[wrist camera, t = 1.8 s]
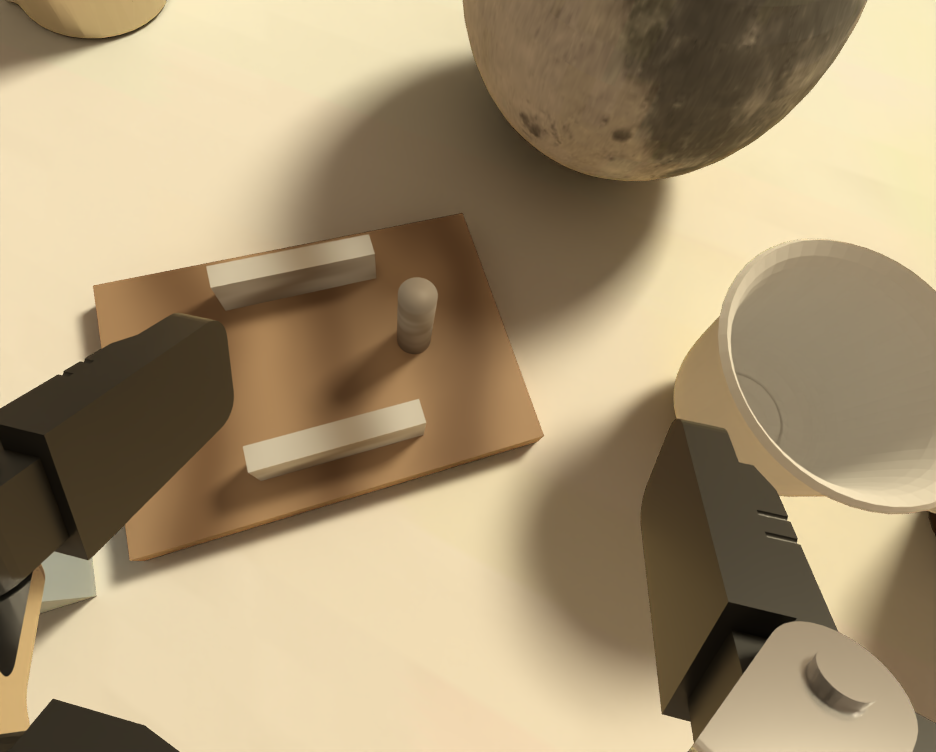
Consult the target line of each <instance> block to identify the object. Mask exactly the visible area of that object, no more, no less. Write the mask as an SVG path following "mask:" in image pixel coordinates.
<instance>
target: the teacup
mask: <svg viewBox="0 0 936 752" xmlns="http://www.w3.org/2000/svg"><path fill="white" fill-rule="evenodd" d="M674 409H675V415H676V419H684V420H688V421H693V422H698V423H703V424H708V425H712V426H717V427H722V428H725V429H726V430H727V432H728V434H729V437H730V440H731V442H732V445H733V448H734V450H735V453H736V456H737V458H738V461H739V462H740V463H745V464H750V465H754V466H755V468H756V469H757V470H758V471H759V472H760V473H761V474H762V475H763V476H764V477H765V478H766V479H767V481H768V482H769V483H770V484H771V485H772V486H773V487H774V488H775V489H776V490H777V492H778V495H779V496H787V497H797V496H826V497H828V498H830V499H833V500H835V501H838V502H840V503H843V504H845V505H848V506H851V507H854V508H858V509H862V510H866V511H870V512H877V513H885V514H909V513H915V512H921V511H926V510H927V511H930V512H932V513H936V291H935V290H934V289H933V288H932V287H931V286H929V285H928V284H927V283H926V282H925V281H924V280H922V279H921V278H920V277H919V276H917V275H916V274H915V273H914V272H912V271H911V270H909V269H907V268H906V267H904V266H903V265H901V264H900V263H898V262H896V261H894V260H892V259H890V258H888V257H886V256H884V255H882V254H880V253H877V252H875V251H872V250H870V249H867V248H864V247H861V246H857V245H854V244H850V243H846V242H840V241H834V240H828V239H800V240H794V241H789V242H784V243H781V244H779V245H776V246H773V247H771V248H769V249H767V250H765V251H764V252H762V253H760V254H759V255H757V256H756V257H755V258H753V259H752V260H751V261H750V262H749V263H747V264H746V265H745V267H744V268H743V269H742V270H741V271H740V272H739V274H738V275H737V276H736V278H735V279H734V281H733V283H732V284H731V286H730V287H729V289H728V292H727V294H726V297H725V299H724V302H723V305H722V309H721V313H720V316H719V317H718V318H717V319H716V320H715V322H714V323H713V324H712V325H711V326H710V327H709V328H708V329H707V330H706V331H705V332H704V333H703V334H702V336H701V337H700V338H699V339H698V340H697V341H696V343H695V344H694V345H693V347H692V348H691V349H690V351H689V352H688V354H687V355H686V357H685V358H684V360H683V362H682V364H681V367H680V369H679V371H678V374H677V377H676V381H675V386H674Z"/></svg>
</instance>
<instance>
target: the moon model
mask: <svg viewBox="0 0 936 752" xmlns="http://www.w3.org/2000/svg"><path fill="white" fill-rule="evenodd" d="M866 2H867V0H463V8H464V18H465V23H466V28H467V32H468V37H469V41H470V46H471V50H472V53H473V56H474V59H475V62H476V64H477V67H478V69H479V72H480V74H481V77H482V79H483V82H484V84H485V86H486V88H487V90H488V92H489V94H490V95H491V97H492V99H493V100H494V102H495V103H496V105H497V106H498V108H499V109H500V111H501V112H502V114H503V115H504V117H505V118H506V119H507V121H508V122H509V123H510V124H511V126H512V127H513V128H514V129H515V130H516V131H517V132H518V133H519V134H520V135H521V136H522V137H523V138H524V139H525V140H527V141H528V142H529V143H530V144H531V145H532V146H534V147H535V148H536V149H537V150H539V151H540V152H541V153H543V154H544V155H546V156H547V157H549V158H550V159H552V160H554V161H556V162H557V163H559V164H561V165H563V166H565V167H568V168H570V169H572V170H575V171H577V172H580V173H583V174H587V175H590V176H594V177H599V178H605V179H612V180H620V181H649V180H656V179H662V178H668V177H674V176H678V175H683V174H686V173H689V172H692V171H695V170H698V169H700V168H703V167H706V166H708V165H711V164H713V163H716V162H718V161H720V160H722V159H724V158H726V157H728V156H730V155H731V154H733V153H735V152H737V151H738V150H740V149H742V148H744V147H745V146H747V145H749V144H750V143H752V142H753V141H755V140H756V139H758V138H759V137H760V136H762V135H763V134H764V133H765V132H767V131H768V130H769V129H771V128H772V127H773V126H774V125H776V124H777V123H778V122H779V121H781V120H782V119H783V118H784V117H785V116H786V115H787V114H788V113H789V112H790V111H791V110H792V109H793V108H794V107H795V106H796V105H797V104H798V103H799V102H800V101H801V100H802V99H803V98H804V97H805V96H806V95H807V94H808V93H809V92H810V91H811V90H812V89H813V87H814V86H815V85H816V84H817V82H818V81H819V80H820V78H821V77H822V76H823V74H824V73H825V72H826V71H827V69H828V68H829V67H830V65H831V64H832V63H833V62H834V60H835V59H836V57H837V56H838V54H839V53H840V51H841V49H842V48H843V46H844V44H845V43H846V41H847V39H848V38H849V36H850V34H851V33H852V31H853V29H854V28H855V26H856V24H857V22H858V20H859V18H860V16H861V14H862V11H863V9H864V7H865V5H866Z"/></svg>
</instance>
